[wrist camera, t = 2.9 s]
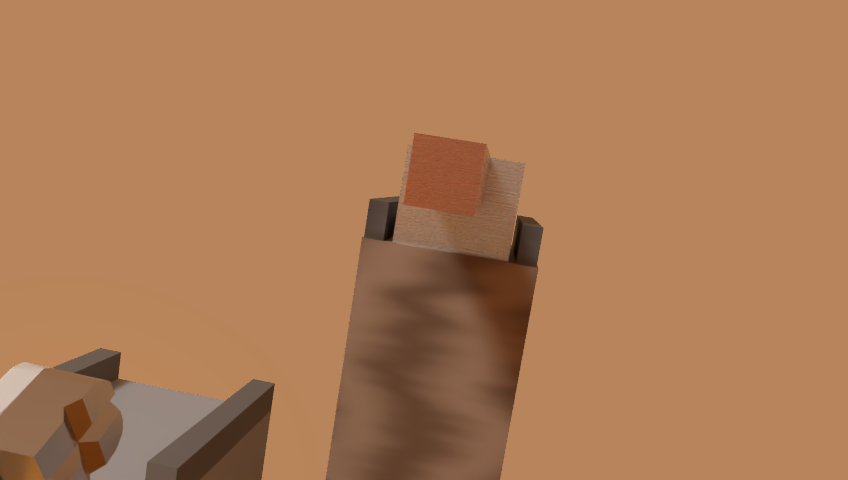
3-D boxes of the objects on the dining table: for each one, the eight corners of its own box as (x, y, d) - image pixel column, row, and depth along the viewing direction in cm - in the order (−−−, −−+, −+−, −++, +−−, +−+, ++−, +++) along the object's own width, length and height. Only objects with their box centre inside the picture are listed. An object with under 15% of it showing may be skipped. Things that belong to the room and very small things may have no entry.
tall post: (484, 607, 44) (555, 221, 41) (479, 763, 32) (578, 234, 29) (323, 569, 45) (380, 192, 42) (260, 706, 33) (334, 194, 30)
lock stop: (506, 248, 38) (520, 167, 38) (511, 296, 21) (537, 152, 21) (411, 231, 39) (424, 152, 38) (344, 266, 22) (364, 125, 21)
